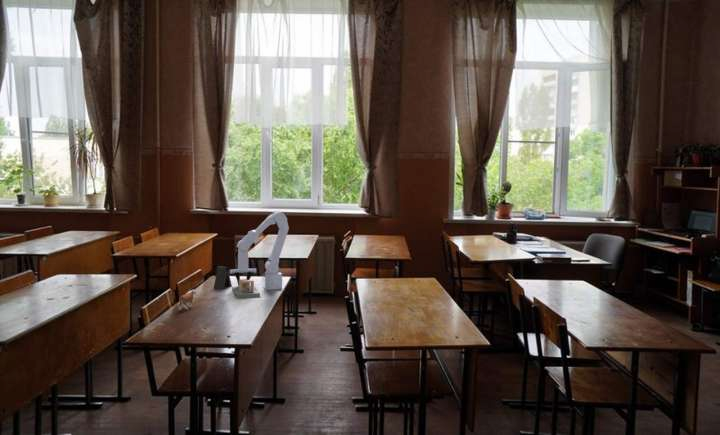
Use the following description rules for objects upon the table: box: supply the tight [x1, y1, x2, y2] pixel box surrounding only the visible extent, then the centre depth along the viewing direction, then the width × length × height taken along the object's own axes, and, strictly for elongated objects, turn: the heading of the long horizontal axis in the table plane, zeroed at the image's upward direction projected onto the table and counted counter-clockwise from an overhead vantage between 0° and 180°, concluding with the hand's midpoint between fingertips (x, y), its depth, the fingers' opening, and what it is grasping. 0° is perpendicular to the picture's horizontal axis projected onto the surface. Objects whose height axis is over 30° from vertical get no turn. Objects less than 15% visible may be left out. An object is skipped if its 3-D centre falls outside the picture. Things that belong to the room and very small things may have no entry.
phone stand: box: [213, 265, 233, 290], centre depth 331 cm, size 9×6×12 cm, turn 156°
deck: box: [231, 285, 261, 299], centre depth 317 cm, size 12×20×2 cm, turn 20°
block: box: [240, 278, 251, 290], centre depth 321 cm, size 4×10×4 cm, turn 21°
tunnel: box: [239, 279, 255, 291], centre depth 315 cm, size 8×3×5 cm, turn 110°
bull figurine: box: [178, 289, 198, 311], centre depth 284 cm, size 4×13×8 cm, turn 164°
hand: (243, 285), depth 326 cm, fingers closed on block, 4 cm apart
